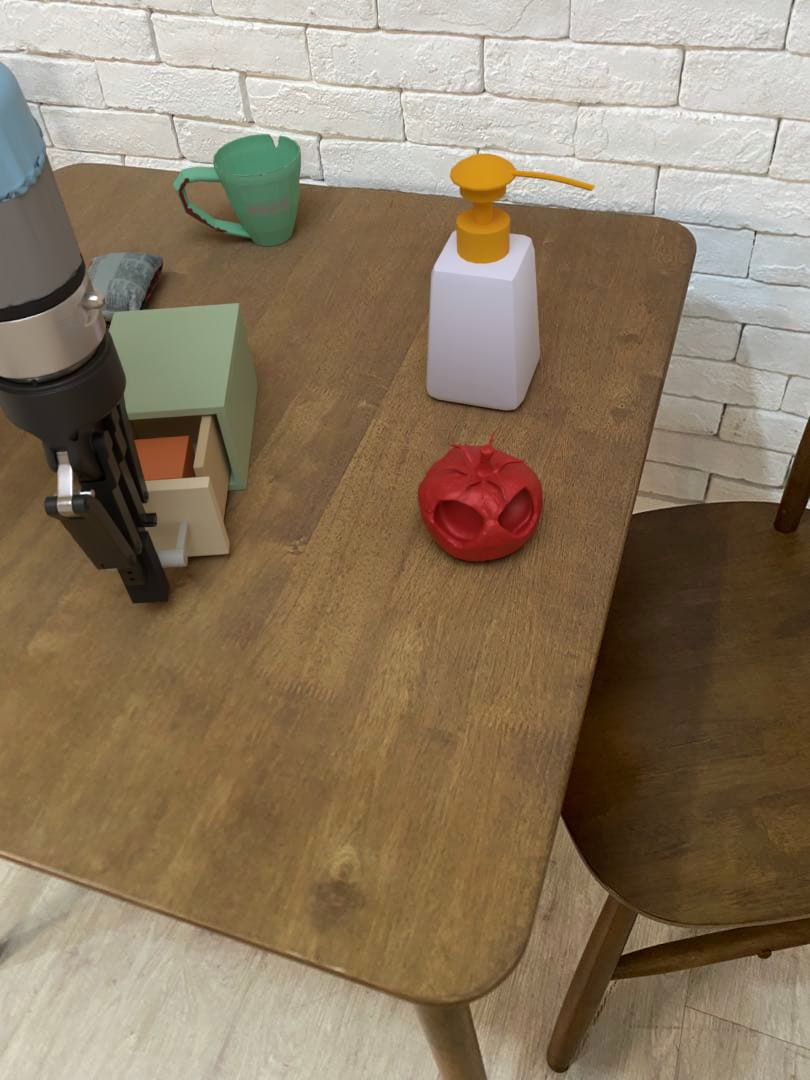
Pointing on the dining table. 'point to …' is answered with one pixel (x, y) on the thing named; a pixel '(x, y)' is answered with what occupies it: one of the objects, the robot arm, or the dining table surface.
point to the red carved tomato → (480, 502)
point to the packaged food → (124, 280)
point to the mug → (251, 187)
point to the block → (166, 458)
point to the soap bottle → (485, 295)
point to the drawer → (188, 492)
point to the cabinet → (191, 371)
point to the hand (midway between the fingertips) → (151, 595)
